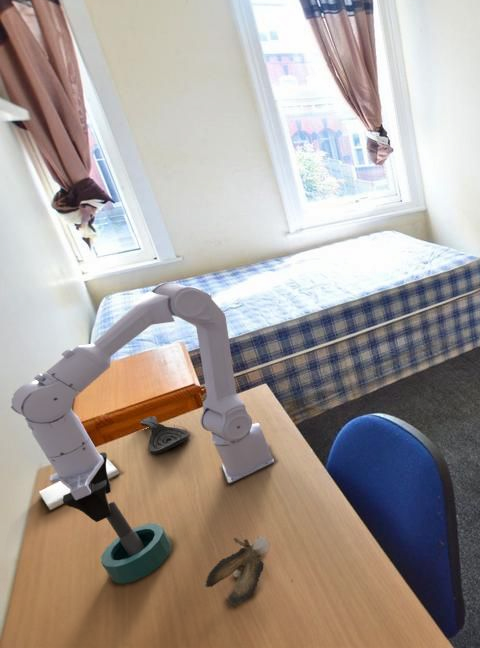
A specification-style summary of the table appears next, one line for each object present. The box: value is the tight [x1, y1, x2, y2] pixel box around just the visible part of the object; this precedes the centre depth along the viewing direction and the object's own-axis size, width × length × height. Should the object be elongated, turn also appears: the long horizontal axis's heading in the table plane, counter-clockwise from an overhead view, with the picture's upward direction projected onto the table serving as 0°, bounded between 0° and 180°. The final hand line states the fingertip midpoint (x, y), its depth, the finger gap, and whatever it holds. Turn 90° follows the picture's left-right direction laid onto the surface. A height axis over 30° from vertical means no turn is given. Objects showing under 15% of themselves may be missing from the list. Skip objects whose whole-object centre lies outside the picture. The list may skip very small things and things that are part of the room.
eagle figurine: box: [204, 536, 271, 606], centre depth 79 cm, size 8×7×9 cm
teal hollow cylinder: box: [100, 523, 172, 584], centre depth 84 cm, size 9×9×4 cm
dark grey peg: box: [106, 501, 146, 557], centre depth 85 cm, size 2×2×11 cm
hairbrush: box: [139, 415, 191, 455], centre depth 120 cm, size 8×4×25 cm
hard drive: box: [38, 458, 120, 511], centre depth 106 cm, size 2×8×12 cm
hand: (103, 505), depth 84 cm, fingers open, 7 cm apart
